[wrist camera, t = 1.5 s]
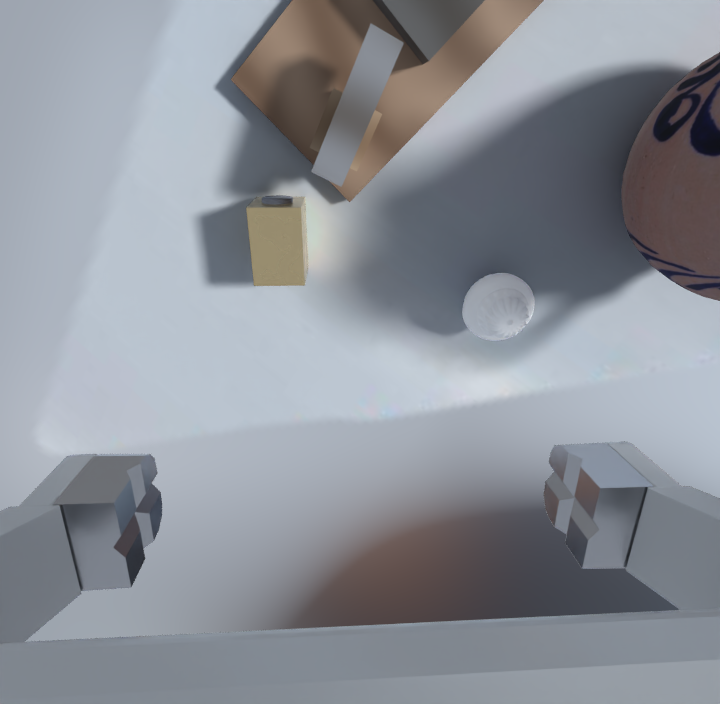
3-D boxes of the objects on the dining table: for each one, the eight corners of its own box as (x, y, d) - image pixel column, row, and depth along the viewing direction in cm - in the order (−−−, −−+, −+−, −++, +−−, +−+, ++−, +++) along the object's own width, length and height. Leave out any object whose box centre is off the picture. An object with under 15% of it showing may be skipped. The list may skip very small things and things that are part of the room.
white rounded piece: (513, 252, 42) (544, 276, 36) (524, 312, 44) (555, 344, 38) (446, 274, 42) (465, 302, 36) (461, 332, 45) (481, 367, 39)
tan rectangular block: (256, 193, 39) (245, 203, 34) (305, 193, 39) (300, 203, 34) (263, 270, 42) (254, 289, 37) (308, 270, 42) (304, 288, 37)
